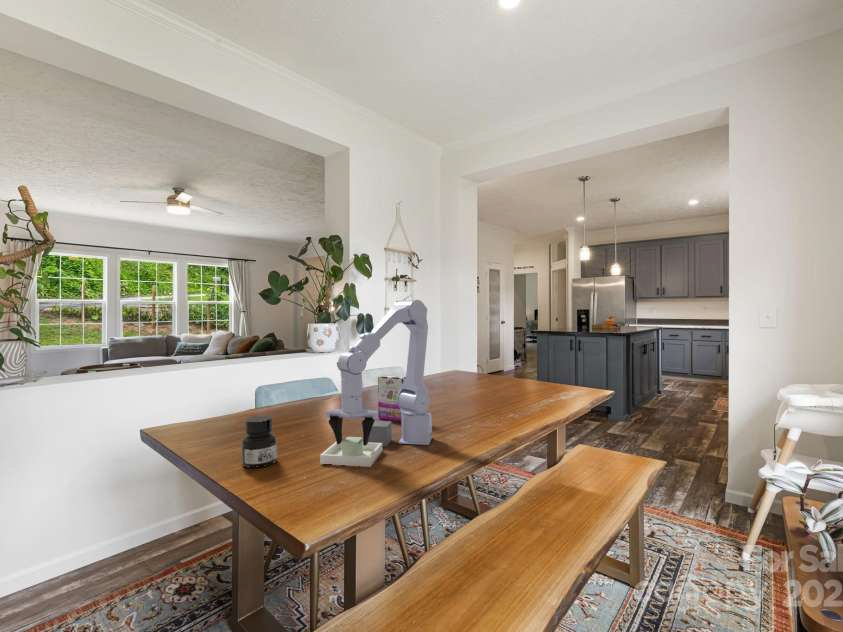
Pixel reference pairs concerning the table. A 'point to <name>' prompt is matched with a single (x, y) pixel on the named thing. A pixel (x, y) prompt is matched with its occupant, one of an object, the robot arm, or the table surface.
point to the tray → (365, 460)
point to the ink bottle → (259, 442)
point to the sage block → (352, 446)
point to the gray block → (381, 432)
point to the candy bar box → (389, 397)
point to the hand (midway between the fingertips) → (352, 443)
